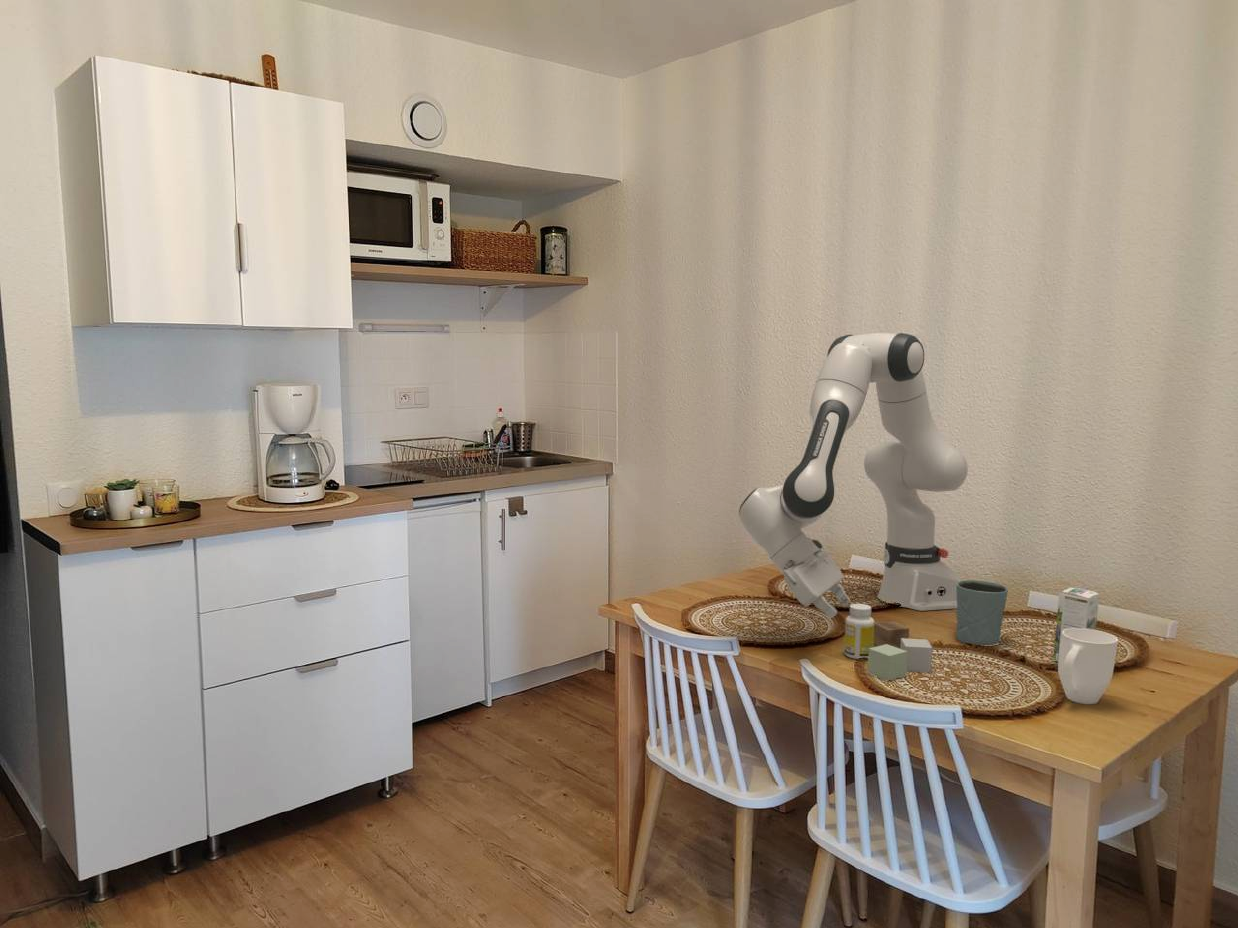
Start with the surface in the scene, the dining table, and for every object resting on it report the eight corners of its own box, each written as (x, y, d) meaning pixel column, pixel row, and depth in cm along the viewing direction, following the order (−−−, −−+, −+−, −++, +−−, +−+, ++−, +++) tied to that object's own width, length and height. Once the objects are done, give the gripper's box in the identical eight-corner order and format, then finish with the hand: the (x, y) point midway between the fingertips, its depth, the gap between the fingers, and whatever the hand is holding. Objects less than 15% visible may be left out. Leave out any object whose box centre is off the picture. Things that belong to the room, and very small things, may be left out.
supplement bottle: (875, 653, 185) (877, 604, 184) (870, 661, 180) (872, 611, 178) (847, 649, 187) (849, 601, 186) (841, 657, 182) (843, 608, 181)
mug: (1068, 685, 168) (1075, 623, 166) (1118, 701, 161) (1126, 636, 159) (1038, 700, 160) (1045, 635, 158) (1090, 717, 154) (1098, 650, 152)
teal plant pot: (943, 635, 197) (946, 581, 196) (981, 631, 200) (985, 578, 199) (975, 649, 188) (978, 593, 186) (1015, 645, 191) (1018, 590, 189)
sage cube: (885, 668, 176) (886, 644, 176) (906, 676, 172) (907, 651, 171) (867, 673, 173) (868, 648, 173) (888, 681, 169) (889, 655, 169)
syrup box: (1063, 655, 185) (1068, 586, 183) (1094, 662, 181) (1099, 591, 179) (1052, 661, 181) (1057, 591, 179) (1084, 669, 177) (1089, 597, 175)
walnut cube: (893, 644, 191) (894, 621, 190) (908, 651, 186) (909, 628, 186) (873, 646, 190) (874, 623, 189) (887, 654, 185) (888, 630, 184)
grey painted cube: (925, 663, 179) (927, 639, 179) (931, 672, 174) (932, 647, 174) (899, 662, 180) (900, 638, 179) (904, 671, 175) (905, 646, 174)
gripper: (790, 557, 177) (838, 613, 174) (821, 539, 195) (865, 589, 192) (768, 576, 180) (814, 632, 177) (800, 557, 198) (843, 607, 194)
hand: (841, 609), depth 184 cm, fingers open, 8 cm apart
